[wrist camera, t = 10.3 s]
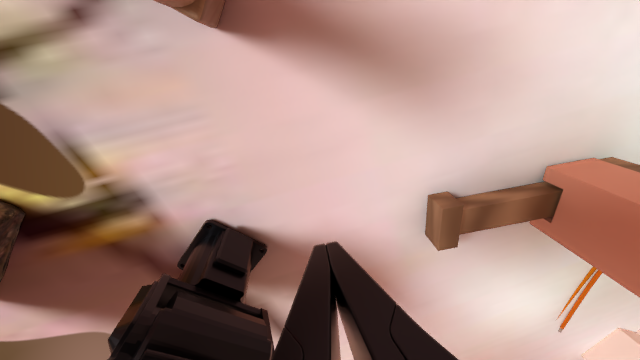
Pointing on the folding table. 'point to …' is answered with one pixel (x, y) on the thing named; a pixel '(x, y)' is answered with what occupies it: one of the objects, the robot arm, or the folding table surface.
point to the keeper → (598, 217)
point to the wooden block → (198, 10)
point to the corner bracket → (616, 347)
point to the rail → (493, 209)
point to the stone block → (8, 232)
